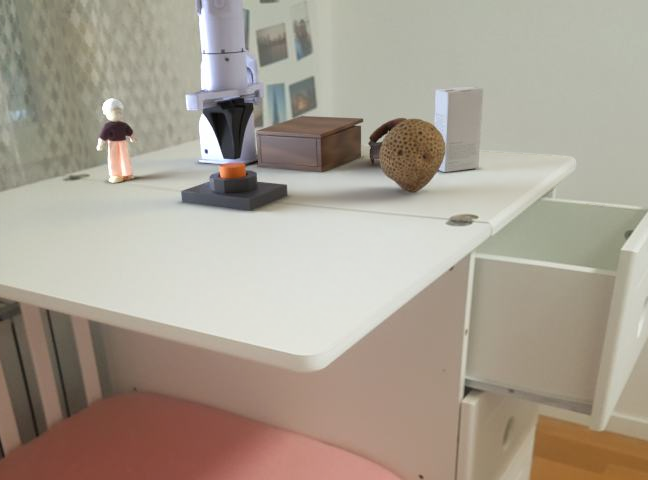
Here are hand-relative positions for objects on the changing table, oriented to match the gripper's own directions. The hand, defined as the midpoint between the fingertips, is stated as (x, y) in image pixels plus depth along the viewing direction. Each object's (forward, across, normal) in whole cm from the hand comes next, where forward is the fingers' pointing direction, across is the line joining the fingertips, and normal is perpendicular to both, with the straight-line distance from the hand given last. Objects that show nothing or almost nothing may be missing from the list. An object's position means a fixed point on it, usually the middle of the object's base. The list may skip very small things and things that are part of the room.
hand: (231, 158), depth 99 cm
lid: (0, +27, +4) cm, 28 cm away
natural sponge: (+6, +13, -21) cm, 25 cm away
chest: (+6, +27, +4) cm, 28 cm away
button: (+3, 0, 0) cm, 3 cm away
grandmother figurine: (+6, +4, +26) cm, 27 cm away
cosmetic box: (+6, +30, -21) cm, 37 cm away
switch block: (+6, 0, 0) cm, 6 cm away
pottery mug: (+6, +31, -11) cm, 33 cm away
